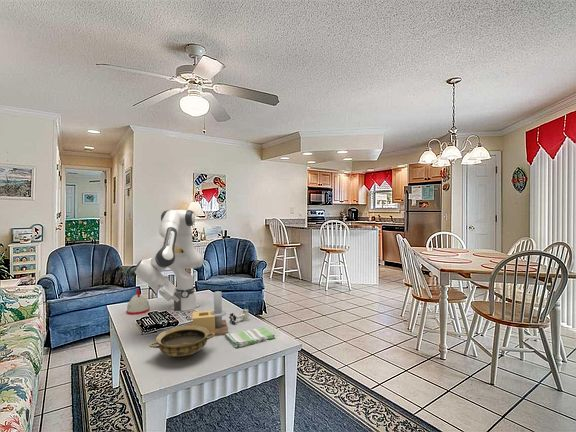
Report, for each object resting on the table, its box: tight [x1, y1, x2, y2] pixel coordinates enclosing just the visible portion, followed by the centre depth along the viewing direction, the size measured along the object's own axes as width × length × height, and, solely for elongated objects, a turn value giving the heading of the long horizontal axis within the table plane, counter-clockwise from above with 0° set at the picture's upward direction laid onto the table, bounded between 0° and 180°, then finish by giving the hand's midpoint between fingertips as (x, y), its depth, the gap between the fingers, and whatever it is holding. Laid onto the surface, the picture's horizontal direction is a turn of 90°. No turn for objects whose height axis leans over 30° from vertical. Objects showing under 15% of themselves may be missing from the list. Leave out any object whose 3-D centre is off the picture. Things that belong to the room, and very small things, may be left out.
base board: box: [185, 319, 229, 338], centre depth 180 cm, size 20×23×2 cm
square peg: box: [173, 291, 182, 312], centre depth 175 cm, size 4×4×10 cm
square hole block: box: [192, 290, 227, 331], centre depth 180 cm, size 12×18×20 cm, turn 106°
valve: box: [228, 308, 250, 325], centre depth 193 cm, size 7×7×12 cm
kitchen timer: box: [126, 289, 150, 316], centre depth 214 cm, size 14×14×15 cm
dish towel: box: [224, 326, 276, 349], centre depth 169 cm, size 17×23×4 cm
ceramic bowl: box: [148, 325, 215, 359], centre depth 150 cm, size 30×24×10 cm
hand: (178, 299), depth 175 cm, fingers closed on square peg, 4 cm apart
